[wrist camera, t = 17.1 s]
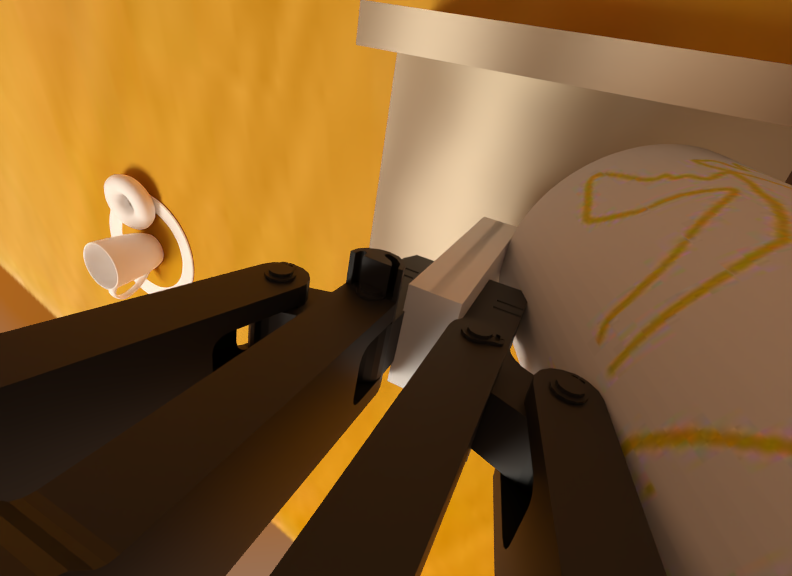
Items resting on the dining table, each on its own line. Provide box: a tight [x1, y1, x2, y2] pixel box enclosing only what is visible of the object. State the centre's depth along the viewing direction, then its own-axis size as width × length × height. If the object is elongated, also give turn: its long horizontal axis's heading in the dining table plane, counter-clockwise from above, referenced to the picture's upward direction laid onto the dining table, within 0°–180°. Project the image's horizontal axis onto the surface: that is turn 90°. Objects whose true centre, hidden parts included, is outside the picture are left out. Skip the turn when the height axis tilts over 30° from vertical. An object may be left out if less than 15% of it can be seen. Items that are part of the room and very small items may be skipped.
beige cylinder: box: [499, 144, 792, 576], centre depth 9 cm, size 8×8×12 cm
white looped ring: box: [83, 174, 194, 299], centre depth 29 cm, size 9×8×4 cm
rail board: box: [356, 0, 792, 261], centre depth 14 cm, size 24×11×5 cm, turn 80°
